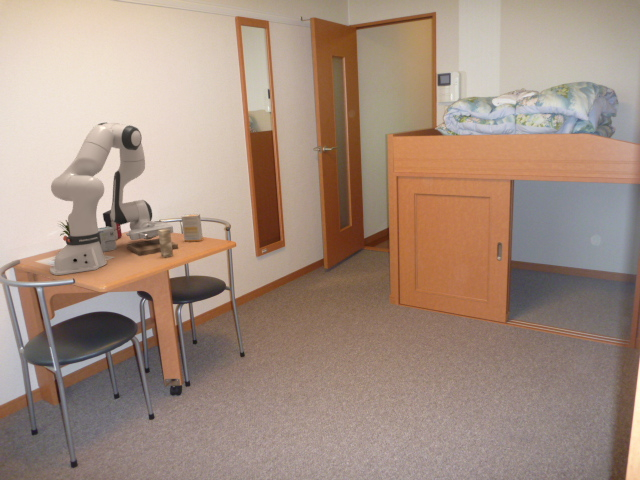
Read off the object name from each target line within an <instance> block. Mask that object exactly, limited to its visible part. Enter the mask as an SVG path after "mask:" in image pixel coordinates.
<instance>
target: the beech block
mask: <svg viewBox="0 0 640 480" xmlns="http://www.w3.org/2000/svg"><path fill="white" fill-rule="evenodd" d="M158 233H159V236H158V238H159V241H160V249H161V252H160V257H162V258H164V259H165V258H170V257H174V253H173V252H174V249H173V250H172V242H173V241H172V233H170V230H169V229H162V230H158Z"/></svg>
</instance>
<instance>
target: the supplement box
mask: <svg viewBox="0 0 640 480" xmlns="http://www.w3.org/2000/svg"><path fill="white" fill-rule="evenodd" d="M181 222H182V223H181V224H182V231H183V238H184V242H185V243H186V242H190V243H191V242H201V241H203V240H204V238H203V237H204V236H203V231H202V230H203V229H202V221H201V214H200V213H196V214H195V213H192V214H191V213H190V214H183V215H182V216H181Z"/></svg>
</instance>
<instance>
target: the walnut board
mask: <svg viewBox="0 0 640 480" xmlns="http://www.w3.org/2000/svg"><path fill="white" fill-rule="evenodd" d="M171 242H172V250H173V251H174V250H178V249H179V245H178V243H176V242H173V241H171ZM126 248H127V249H128V250H130V251H131V252H133V253H135V254H137V255H138V256H140V257H141V256H146V255H150V254H151V255H152V254H156V253H161V249H160V241H159V237H158V238H154V239H153V238H152V239H149V240H141V241H137V242H131V243H127V244H126Z"/></svg>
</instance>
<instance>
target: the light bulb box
mask: <svg viewBox="0 0 640 480" xmlns="http://www.w3.org/2000/svg"><path fill="white" fill-rule="evenodd" d="M98 232H99V233H100V237H101V248H102V251H103V253H106V252H110V251H114V250H117V249H118V248H117V242H116V240H115V233H114V228H113V227H109V226H107V227H106V226H103V227H99V228H98Z"/></svg>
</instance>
